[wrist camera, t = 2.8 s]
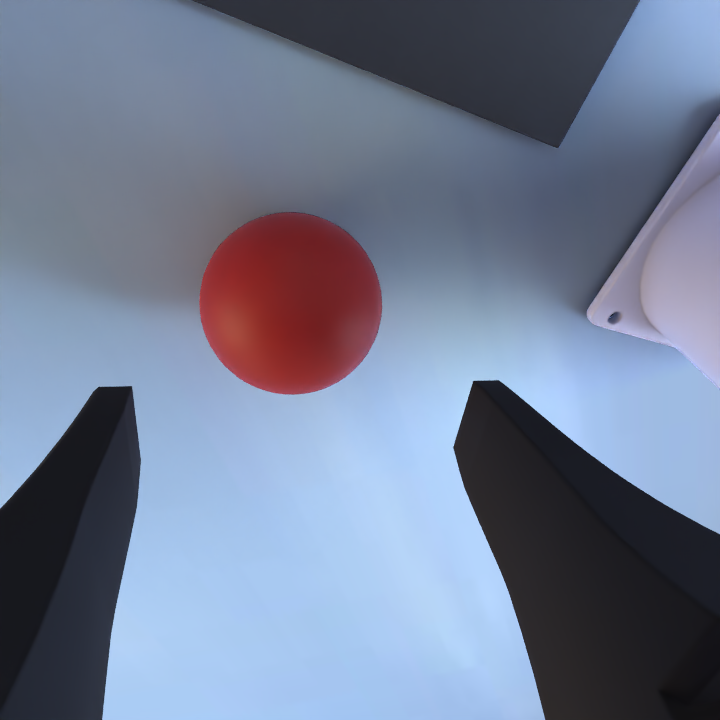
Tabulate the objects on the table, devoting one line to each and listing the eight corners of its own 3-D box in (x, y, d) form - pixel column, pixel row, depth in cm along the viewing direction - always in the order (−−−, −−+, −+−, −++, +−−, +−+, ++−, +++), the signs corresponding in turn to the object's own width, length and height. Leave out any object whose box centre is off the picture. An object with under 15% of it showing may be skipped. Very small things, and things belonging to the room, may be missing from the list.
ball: (387, 212, 18) (433, 295, 14) (331, 343, 21) (358, 444, 17) (224, 161, 16) (226, 240, 13) (185, 311, 19) (176, 416, 15)
